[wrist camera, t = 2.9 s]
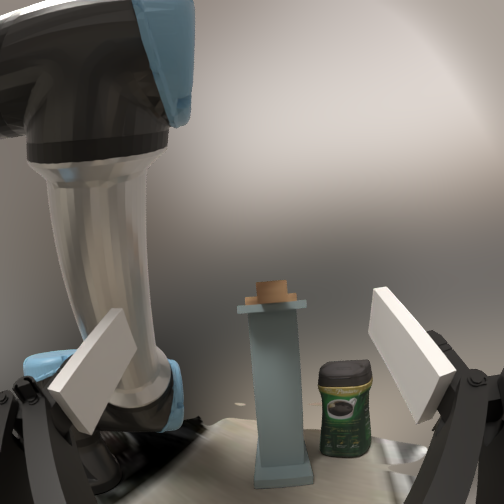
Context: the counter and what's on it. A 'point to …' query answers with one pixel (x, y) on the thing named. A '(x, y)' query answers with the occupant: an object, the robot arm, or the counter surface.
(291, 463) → the stand
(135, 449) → the counter surface
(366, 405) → the coffee jar
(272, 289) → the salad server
